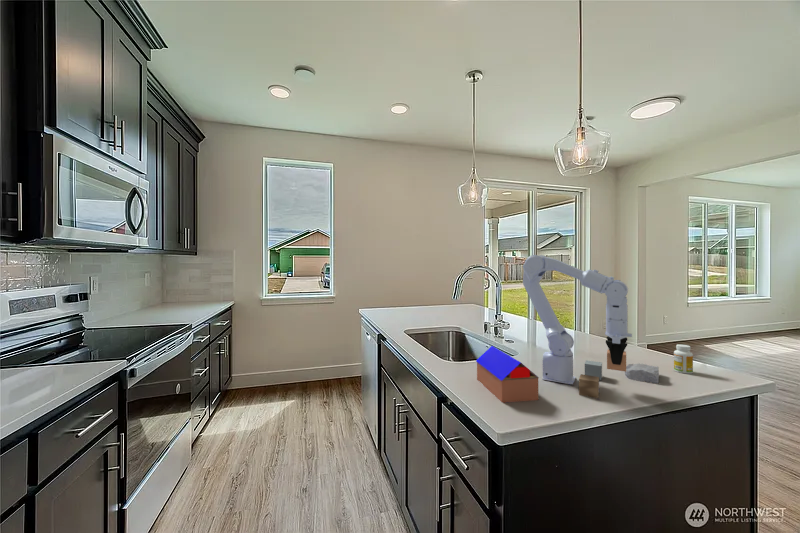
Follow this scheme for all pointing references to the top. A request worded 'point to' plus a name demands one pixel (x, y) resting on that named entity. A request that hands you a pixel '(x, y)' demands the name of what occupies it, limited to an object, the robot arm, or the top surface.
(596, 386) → the walnut block
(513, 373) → the house
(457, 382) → the top surface
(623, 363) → the terracotta block
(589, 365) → the slate block
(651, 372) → the stone block
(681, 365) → the supplement bottle
